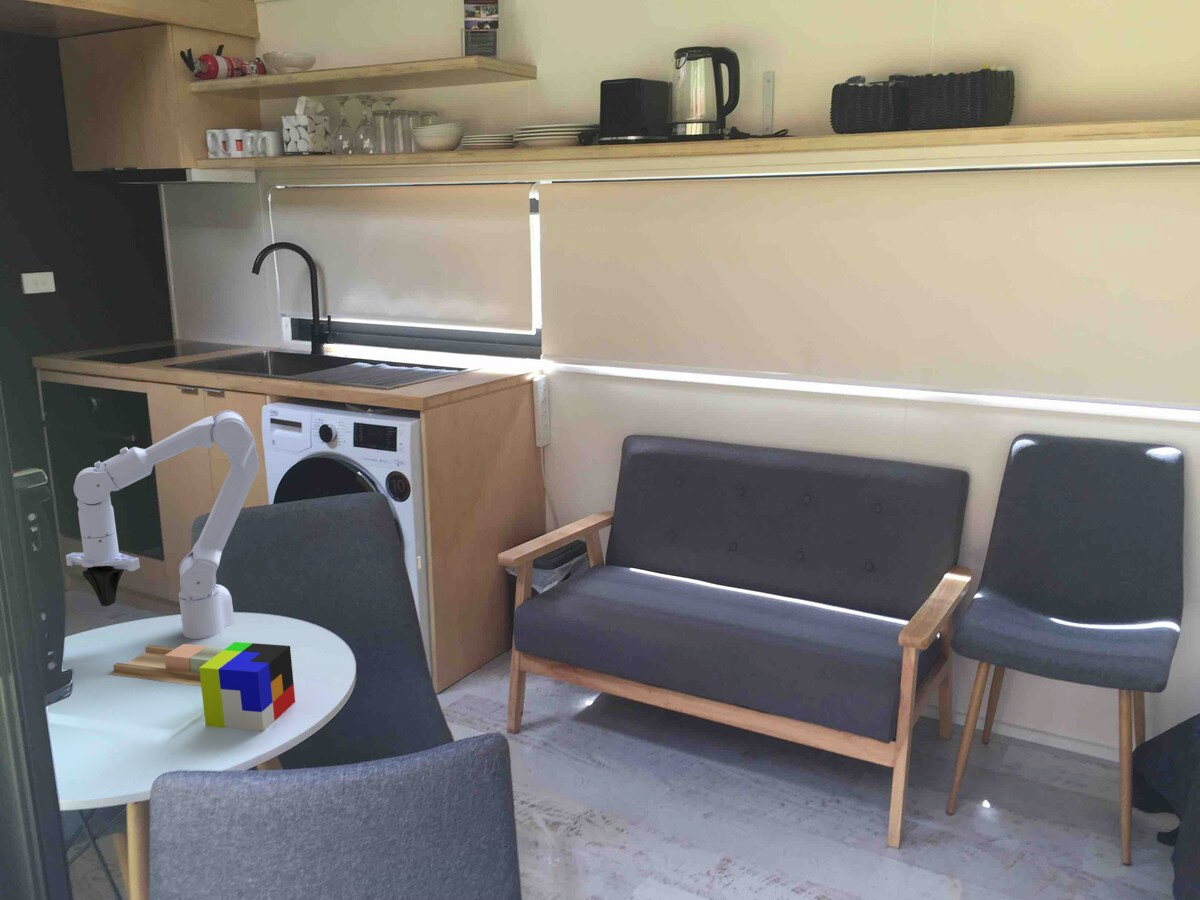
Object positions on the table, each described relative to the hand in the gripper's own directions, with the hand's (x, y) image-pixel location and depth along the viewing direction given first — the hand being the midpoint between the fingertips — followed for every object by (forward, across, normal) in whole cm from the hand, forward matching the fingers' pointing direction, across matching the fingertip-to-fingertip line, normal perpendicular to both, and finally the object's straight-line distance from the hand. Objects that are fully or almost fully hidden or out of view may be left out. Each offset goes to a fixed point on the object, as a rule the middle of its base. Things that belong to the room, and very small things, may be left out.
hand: (108, 604), depth 183 cm
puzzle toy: (+10, +40, -15) cm, 44 cm away
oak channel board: (+9, +21, -4) cm, 23 cm away
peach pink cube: (+8, +20, -4) cm, 22 cm away
